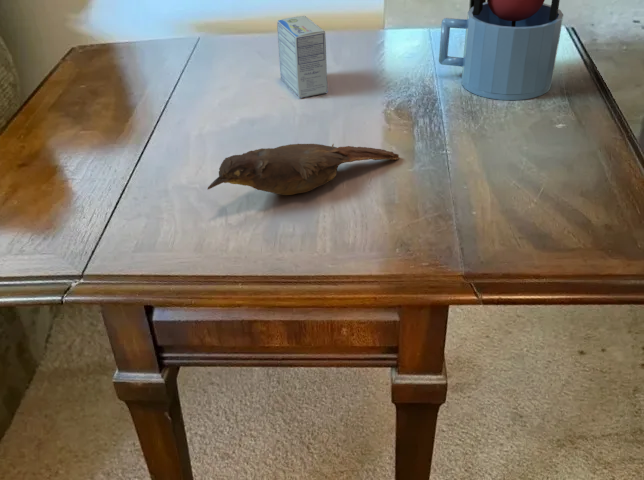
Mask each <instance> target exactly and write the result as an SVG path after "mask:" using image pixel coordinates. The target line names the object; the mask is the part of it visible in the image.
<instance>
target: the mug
mask: <svg viewBox="0 0 644 480" xmlns="http://www.w3.org/2000/svg"><path fill="white" fill-rule="evenodd" d="M473 8H474V6H472V7H470V8H469V9H468V11H467V15H466V19H465V18H454V17H453V18H452V17H444V18H443V19H441V25H440V37H439V39H440V40H439V50H438V51H439V52H438V53H439V54H438V64H440V65H441V66H453V67H462V68H461V85H462V87H463V88H464V89H465V90H466V91H468V92H469V93H472V94H474V95H476V96H479V97H482V98H486V99H491V100H499V101H523V100H530V99H534V98H539V97H541V96H543V95H545V94H546V93H548V92H549V91H550V89H551V88H552V82H553V80H554V73H555V68H556V62H557V56H558V50H559V44H560V38H561V31H562V26H563V20H564V13H563V12H562V10H561V9H559V8H558V14H557V17H556V19H555V20H554V21H552V20H549V16H550V10H551V4H548V3H545V2H544V3H543V5H542V6H541V8H540V9H539V10H538V11H537V12H536V13H535V14H534V15H532V16H531V17H529V18H527V19H524V20H521V21H516V25H515V27H511V26H512V21H507V20H503V19H501V18H499V17H497V16H496V15H495V14H494V13H493V12H492V11H491V9H490V8H489V5H488V2H487V1H485V2H483V9H482V11H481V12H480V14H479V15H473ZM451 29H462V30H465V36H464V37H465V38H464V45H463V57H461V56H451V55H449V46H450V32H451Z"/></svg>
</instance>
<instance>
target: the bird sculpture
mask: <svg viewBox="0 0 644 480" xmlns="http://www.w3.org/2000/svg"><path fill="white" fill-rule="evenodd" d="M334 145H335V144H334V143H332V144H331V146H330V145H326V144H325V145H324V144H320V143H319V144H318V143H292V144H291V143H290V144H286V145H280V146H277V147H274V148H272V147H271V148H270V147H268V148H259V149H254V150H249V151H247V152H243V153H242V154H234V155H230V156H228V157H225V158H224V159H223V161H222V162H221V164H220V166H219V168H218V170H219V171H218V177H216V178H215V179H214V180H213V181H212V182H211V183H210V184H209V185H208V187H207V190H211V189H213V188H214V187H217V186H219V185H221V184H231V185H239V186H244V187H245V186H247V187H250V188H253V189H255V190H257V191H263V192H268V193H272V194H276V195H283V196H293V195H297V194H298V195H299V194H304V193H308V192H311V191H313V190H314V189H316V188H318V187H319V188H320V187H321V186H323V185H325V184H327V183H328V182H330V181H332V180H334V179H335V177H336V176H337V171H338V168H339V166H341V165H342V164H345V163H353V162H358V161H359V162H361V161H368V160H373V161H385V160H394V161H397V160H400V154H399V153H394V152H393V151H389V150H387V149H386V150H385V149H382V148H375V147H366V146H353V145H347V146H338V147H337V146H334Z"/></svg>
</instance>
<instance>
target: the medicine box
mask: <svg viewBox="0 0 644 480" xmlns="http://www.w3.org/2000/svg"><path fill="white" fill-rule="evenodd" d="M276 27H277V28H276V29H277V43H278V59H279V60H278V61H279V74H280V75H279V76H280V80H281V81H282V82H283V83H284V84H285V85H286V86H287V87H288V88H289V89H290V90H291V91H292V92H293V93H294V94H295V95H297V97H298V98H299V99H301V98H308V97H313V96H317V95H324V94H326V93H328V70H327V69H328V67H327V39H326V37H327V36H326V30H324V29H322V27H320V26H319V25H318V24H316V23H315V22H314V21H313V20H311V19H310V18H309V17H307V15H300V16H292V17H286V18H282V19H278V20H277V21H276Z"/></svg>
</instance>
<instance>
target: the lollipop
mask: <svg viewBox="0 0 644 480" xmlns="http://www.w3.org/2000/svg"><path fill="white" fill-rule="evenodd" d="M486 2H488V5H489V8H490V9H491V11H492V12H493V13H494V14H495V15H496V16H497V17H499V18H501V19H503V20H507V21H512V26H511V27H515V25H516V21H521V20H524V19H527V18H529V17H531V16H532V15H534V14H535V13H536V12H537V11H538V10H539V9H540V8H541V6H542V5H543V3H545V0H486Z"/></svg>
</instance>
